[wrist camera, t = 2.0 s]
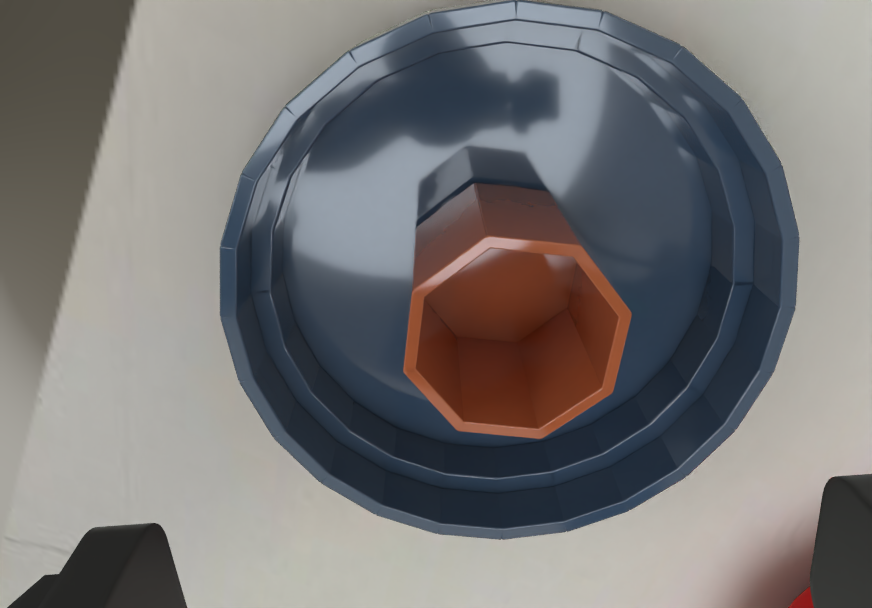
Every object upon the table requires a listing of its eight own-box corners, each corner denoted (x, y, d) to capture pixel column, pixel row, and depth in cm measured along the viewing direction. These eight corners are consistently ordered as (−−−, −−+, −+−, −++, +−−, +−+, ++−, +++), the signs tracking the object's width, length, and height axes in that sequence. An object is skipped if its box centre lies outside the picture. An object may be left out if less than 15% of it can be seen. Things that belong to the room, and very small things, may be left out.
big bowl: (250, 440, 28) (219, 515, 24) (258, -33, 22) (219, -39, 18) (671, 479, 29) (710, 558, 25) (802, 37, 23) (885, 45, 19)
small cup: (403, 334, 26) (396, 426, 21) (421, 173, 24) (418, 227, 18) (564, 351, 26) (600, 445, 21) (597, 193, 24) (647, 252, 19)
